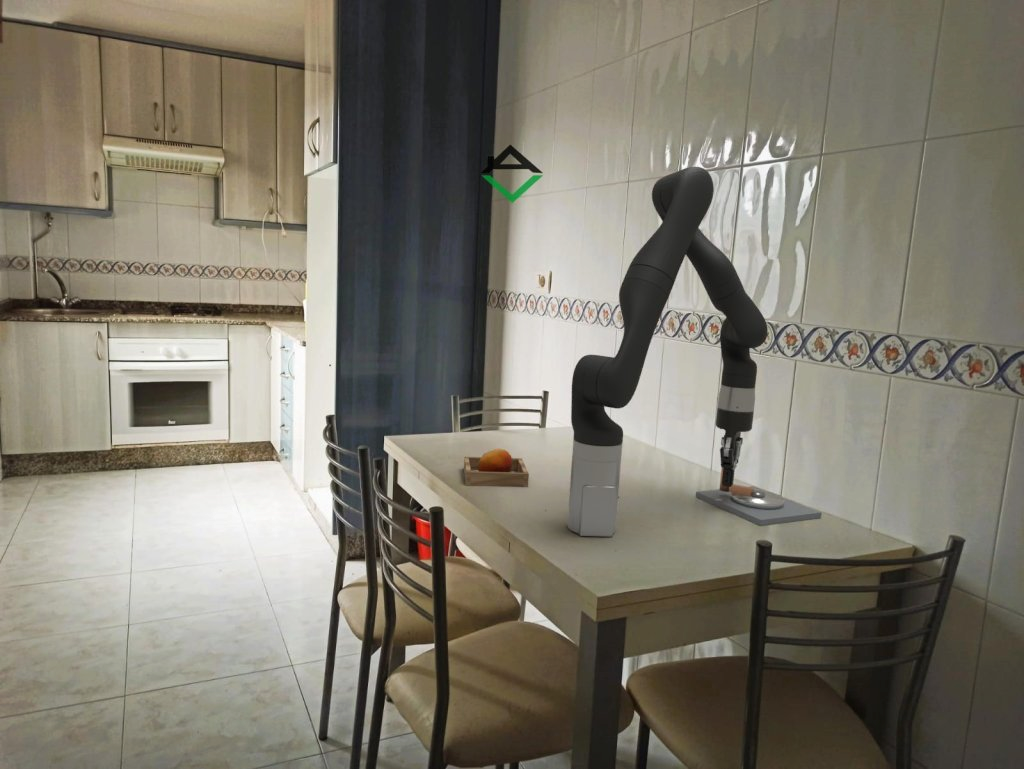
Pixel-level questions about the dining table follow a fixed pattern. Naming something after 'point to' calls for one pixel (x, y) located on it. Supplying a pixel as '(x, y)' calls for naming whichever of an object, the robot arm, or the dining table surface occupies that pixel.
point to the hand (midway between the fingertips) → (727, 485)
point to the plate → (759, 516)
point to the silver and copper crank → (753, 496)
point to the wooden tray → (495, 474)
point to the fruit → (495, 461)
